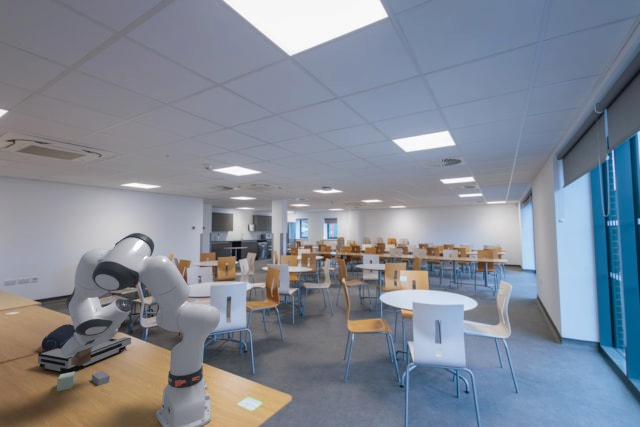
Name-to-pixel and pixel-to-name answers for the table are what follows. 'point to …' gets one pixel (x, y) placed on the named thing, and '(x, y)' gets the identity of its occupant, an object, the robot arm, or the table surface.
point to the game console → (98, 353)
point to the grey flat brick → (100, 378)
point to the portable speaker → (58, 337)
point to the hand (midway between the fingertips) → (80, 352)
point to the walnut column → (82, 357)
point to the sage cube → (66, 381)
